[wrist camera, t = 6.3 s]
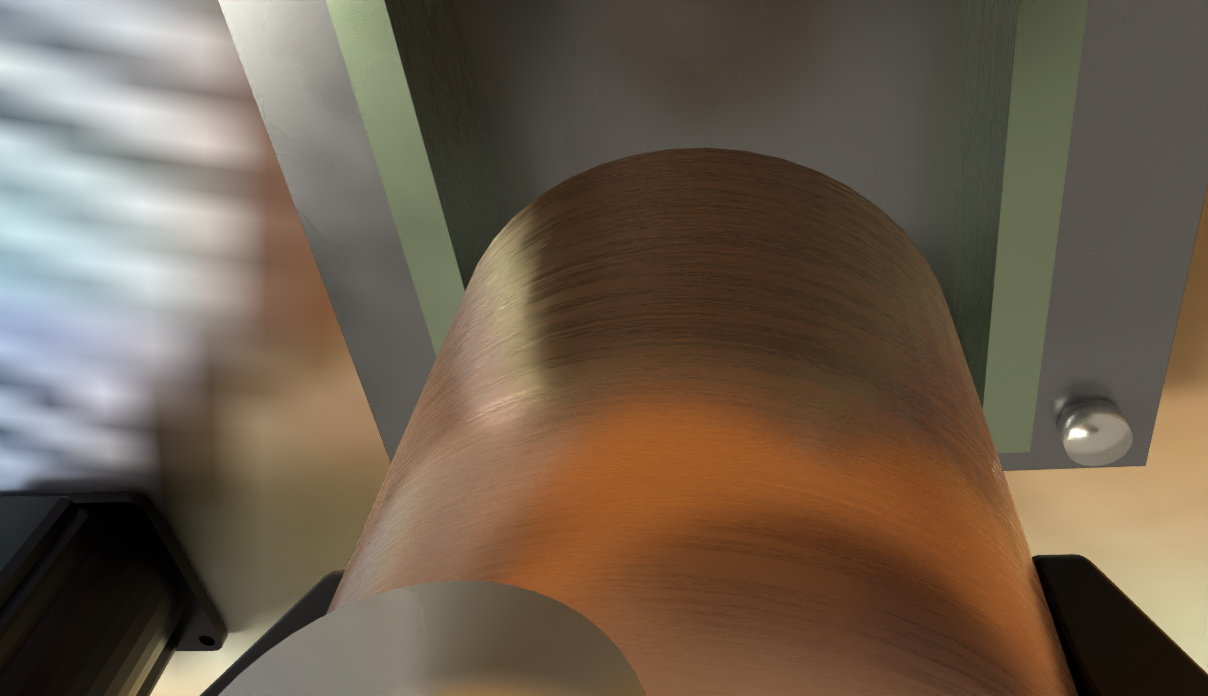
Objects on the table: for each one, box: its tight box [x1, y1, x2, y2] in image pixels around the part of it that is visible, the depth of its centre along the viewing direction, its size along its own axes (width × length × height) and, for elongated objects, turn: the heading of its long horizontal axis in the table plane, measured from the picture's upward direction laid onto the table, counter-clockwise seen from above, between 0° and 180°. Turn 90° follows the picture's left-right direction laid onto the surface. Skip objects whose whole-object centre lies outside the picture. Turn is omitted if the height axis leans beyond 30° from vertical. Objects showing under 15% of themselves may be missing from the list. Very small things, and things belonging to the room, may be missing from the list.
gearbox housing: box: [218, 0, 1208, 471], centre depth 16 cm, size 16×16×6 cm
